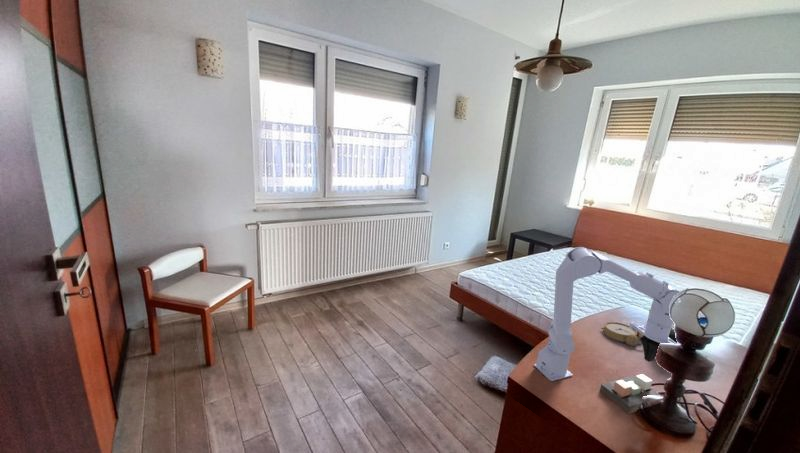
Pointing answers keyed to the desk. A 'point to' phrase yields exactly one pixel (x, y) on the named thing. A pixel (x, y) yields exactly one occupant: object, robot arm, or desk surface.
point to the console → (626, 402)
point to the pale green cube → (634, 388)
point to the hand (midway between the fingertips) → (648, 359)
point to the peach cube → (622, 388)
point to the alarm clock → (622, 333)
